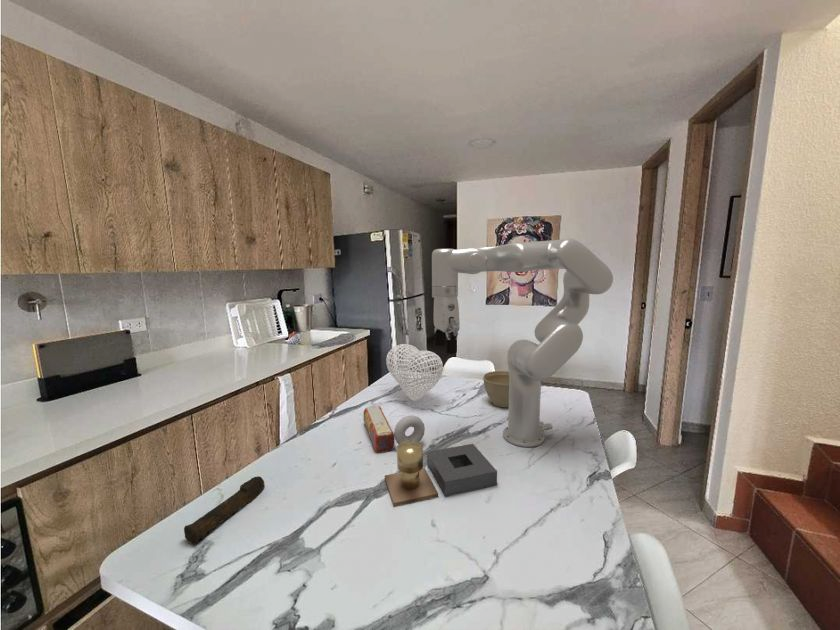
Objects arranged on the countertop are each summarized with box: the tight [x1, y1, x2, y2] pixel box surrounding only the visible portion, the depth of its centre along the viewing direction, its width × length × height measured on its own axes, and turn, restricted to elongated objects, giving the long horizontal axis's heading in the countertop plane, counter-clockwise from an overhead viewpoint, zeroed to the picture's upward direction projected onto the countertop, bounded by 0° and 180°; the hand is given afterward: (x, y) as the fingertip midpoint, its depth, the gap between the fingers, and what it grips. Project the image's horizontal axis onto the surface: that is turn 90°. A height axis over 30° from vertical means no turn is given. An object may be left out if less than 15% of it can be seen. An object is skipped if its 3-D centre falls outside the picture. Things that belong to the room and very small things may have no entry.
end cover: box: [396, 441, 424, 490], centre depth 86 cm, size 6×6×10 cm
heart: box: [385, 343, 444, 402], centre depth 140 cm, size 28×16×22 cm, turn 36°
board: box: [384, 467, 439, 508], centre depth 87 cm, size 11×11×1 cm
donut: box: [393, 415, 426, 445], centre depth 106 cm, size 10×4×10 cm, turn 116°
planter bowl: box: [482, 370, 509, 408], centre depth 137 cm, size 16×16×11 cm
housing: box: [426, 443, 498, 498], centre depth 92 cm, size 14×14×4 cm
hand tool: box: [183, 475, 266, 545], centre depth 79 cm, size 19×4×5 cm, turn 154°
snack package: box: [363, 405, 396, 454], centre depth 113 cm, size 21×7×7 cm, turn 18°
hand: (445, 349), depth 103 cm, fingers open, 9 cm apart
